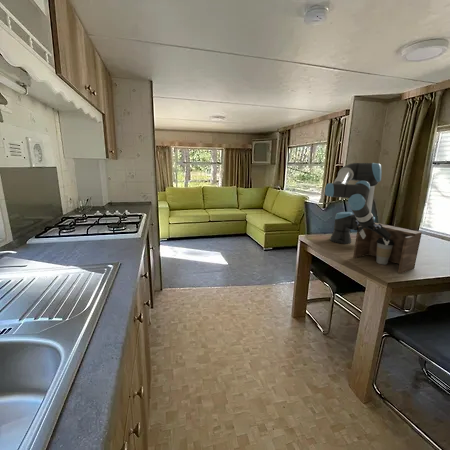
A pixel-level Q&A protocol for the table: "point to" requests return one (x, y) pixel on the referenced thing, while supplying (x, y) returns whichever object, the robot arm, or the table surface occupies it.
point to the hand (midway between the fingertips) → (375, 240)
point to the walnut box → (401, 250)
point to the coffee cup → (383, 251)
